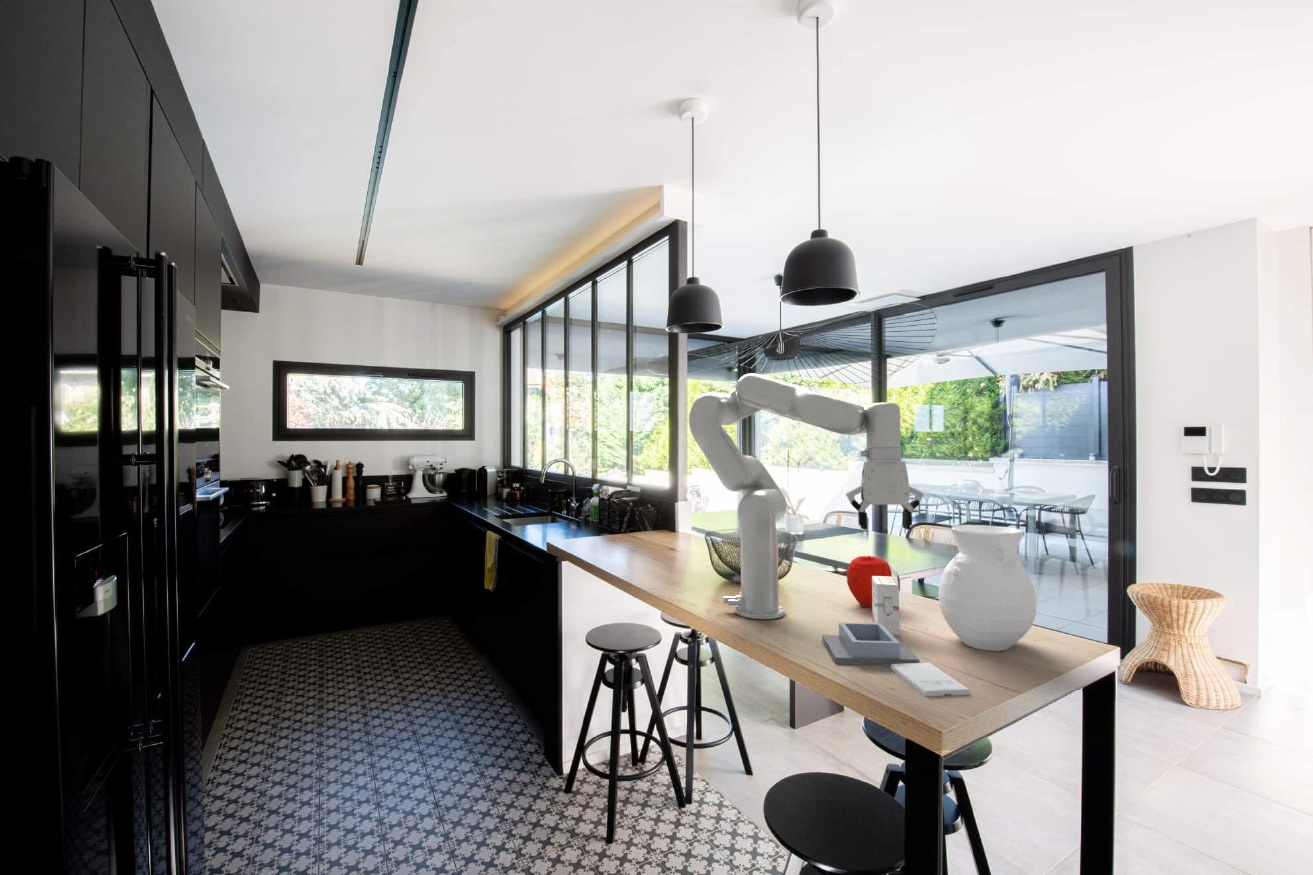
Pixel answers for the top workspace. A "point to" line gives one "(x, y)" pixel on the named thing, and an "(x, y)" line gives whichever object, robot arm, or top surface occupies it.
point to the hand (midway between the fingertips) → (885, 528)
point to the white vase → (987, 588)
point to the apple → (865, 577)
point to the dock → (867, 645)
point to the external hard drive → (929, 679)
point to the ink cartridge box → (886, 602)
